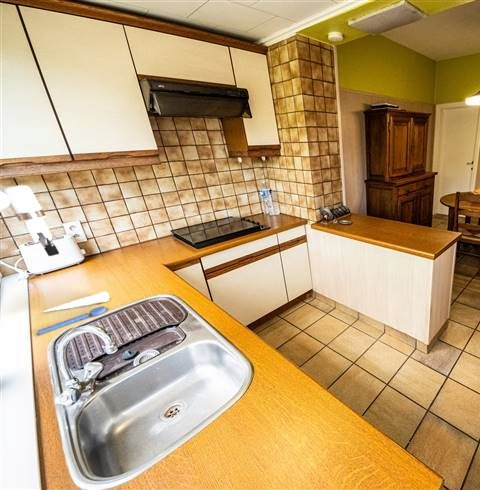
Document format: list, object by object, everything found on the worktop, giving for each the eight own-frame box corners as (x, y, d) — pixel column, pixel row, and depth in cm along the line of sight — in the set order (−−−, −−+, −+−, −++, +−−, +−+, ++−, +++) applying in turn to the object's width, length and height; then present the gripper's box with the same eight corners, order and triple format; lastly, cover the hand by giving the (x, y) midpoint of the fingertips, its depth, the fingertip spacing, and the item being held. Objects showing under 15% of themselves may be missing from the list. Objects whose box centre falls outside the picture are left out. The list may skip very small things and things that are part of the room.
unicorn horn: (50, 307, 119) (44, 298, 117) (111, 297, 124) (107, 289, 122) (41, 314, 115) (35, 304, 113) (105, 303, 120) (100, 294, 118)
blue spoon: (38, 336, 101) (36, 333, 101) (40, 330, 104) (38, 328, 104) (106, 311, 114) (105, 309, 113) (105, 307, 117) (104, 304, 117)
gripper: (19, 214, 114) (42, 253, 121) (14, 221, 104) (40, 262, 111) (45, 210, 119) (66, 247, 126) (43, 216, 109) (65, 256, 116)
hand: (54, 254), depth 119 cm, fingers closed
